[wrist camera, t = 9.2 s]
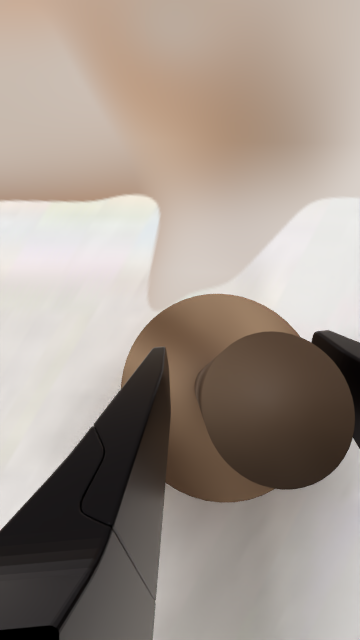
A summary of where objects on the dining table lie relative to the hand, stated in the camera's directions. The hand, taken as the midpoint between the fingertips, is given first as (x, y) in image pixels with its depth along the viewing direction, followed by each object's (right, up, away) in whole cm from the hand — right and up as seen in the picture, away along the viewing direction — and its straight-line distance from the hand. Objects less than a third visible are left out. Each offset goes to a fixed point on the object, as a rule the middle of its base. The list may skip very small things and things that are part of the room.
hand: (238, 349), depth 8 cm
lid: (0, -3, +8) cm, 8 cm away
